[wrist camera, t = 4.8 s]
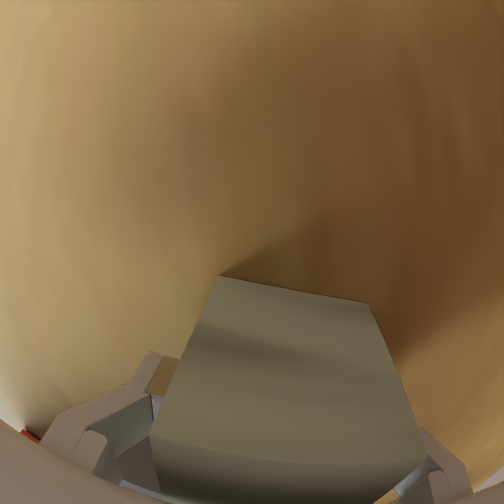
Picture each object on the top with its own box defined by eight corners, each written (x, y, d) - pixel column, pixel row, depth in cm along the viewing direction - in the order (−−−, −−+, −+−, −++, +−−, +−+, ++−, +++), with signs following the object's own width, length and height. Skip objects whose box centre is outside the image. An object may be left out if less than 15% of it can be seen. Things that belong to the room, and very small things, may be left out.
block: (323, 401, 11) (332, 529, 6) (205, 381, 11) (165, 510, 6) (367, 303, 9) (427, 458, 4) (218, 275, 9) (148, 433, 4)
